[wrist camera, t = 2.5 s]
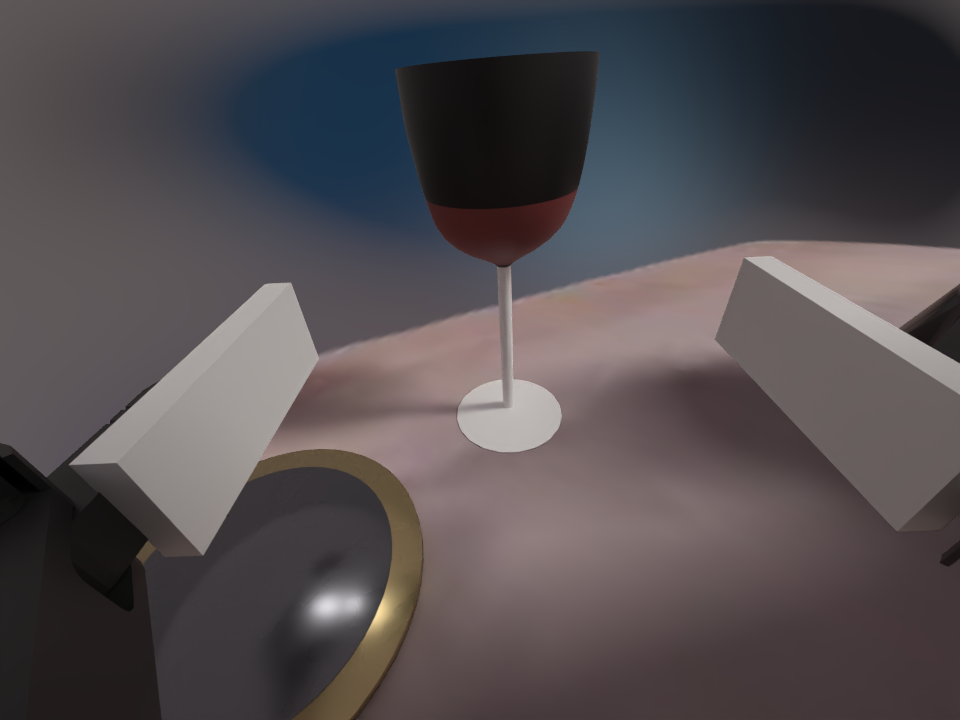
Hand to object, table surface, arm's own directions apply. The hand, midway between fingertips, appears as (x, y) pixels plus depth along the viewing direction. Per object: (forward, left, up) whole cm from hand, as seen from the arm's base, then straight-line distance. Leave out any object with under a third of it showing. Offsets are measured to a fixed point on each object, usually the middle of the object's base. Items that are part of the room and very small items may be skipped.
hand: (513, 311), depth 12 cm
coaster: (+13, -3, -14) cm, 19 cm away
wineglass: (-4, -9, -14) cm, 17 cm away
